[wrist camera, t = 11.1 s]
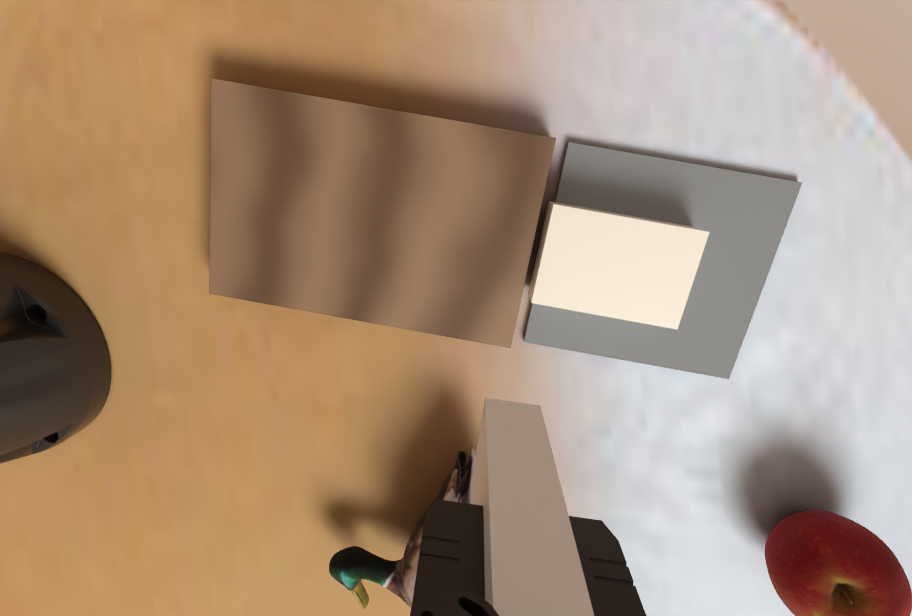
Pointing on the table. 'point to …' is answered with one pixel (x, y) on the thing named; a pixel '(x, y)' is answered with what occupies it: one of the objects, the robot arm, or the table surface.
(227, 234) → the brown wooden board
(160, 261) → the table surface
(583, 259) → the tile
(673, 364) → the mat
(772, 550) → the apple
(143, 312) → the table surface
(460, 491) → the decorative duck model
